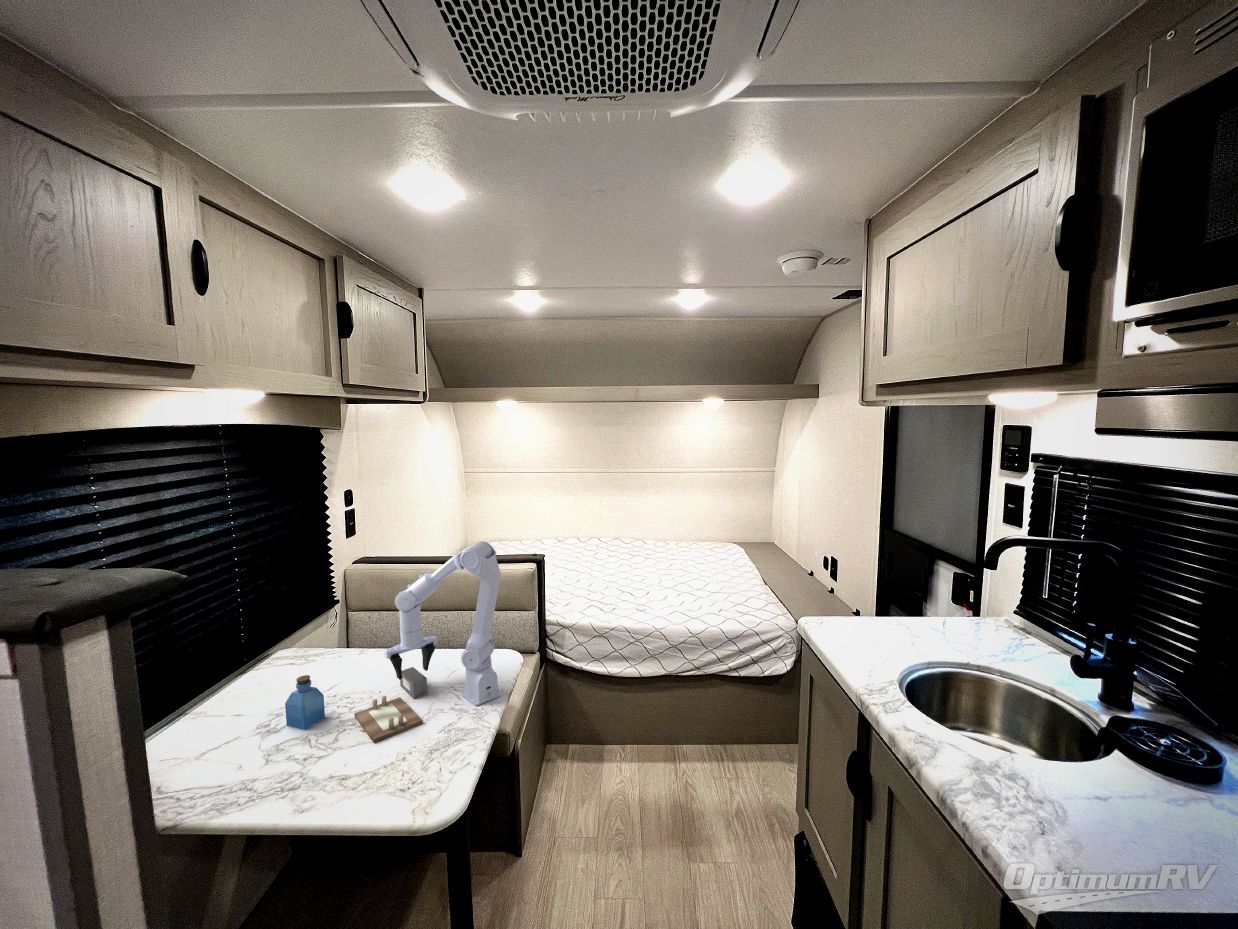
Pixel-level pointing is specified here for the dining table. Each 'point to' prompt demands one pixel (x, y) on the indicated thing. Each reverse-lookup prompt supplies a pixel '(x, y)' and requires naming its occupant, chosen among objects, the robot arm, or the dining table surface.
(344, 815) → the dining table surface
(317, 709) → the perfume bottle
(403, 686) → the block
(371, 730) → the pin tray
